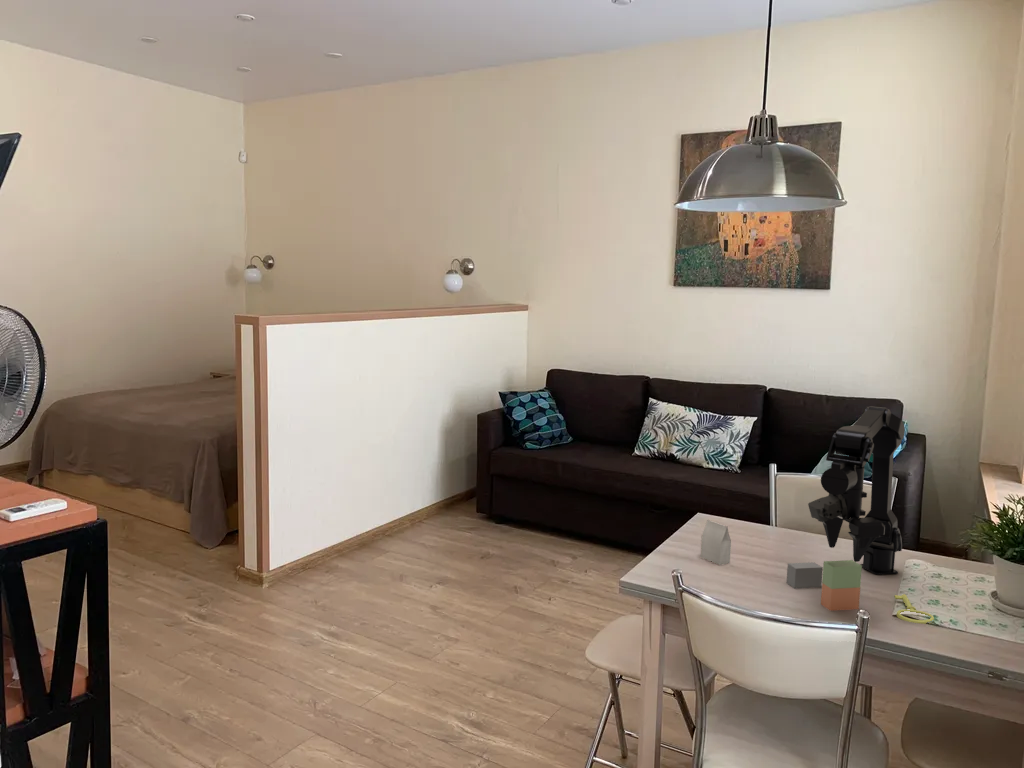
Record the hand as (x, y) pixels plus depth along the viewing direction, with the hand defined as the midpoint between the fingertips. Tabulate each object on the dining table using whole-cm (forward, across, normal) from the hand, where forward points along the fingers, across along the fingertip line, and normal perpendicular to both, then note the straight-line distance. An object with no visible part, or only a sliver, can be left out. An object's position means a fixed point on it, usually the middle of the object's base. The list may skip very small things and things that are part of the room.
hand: (843, 554), depth 171 cm
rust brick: (+12, +1, -1) cm, 12 cm away
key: (+12, +6, +13) cm, 19 cm away
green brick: (+7, +1, -1) cm, 7 cm away
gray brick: (+12, -12, -2) cm, 17 cm away
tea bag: (+12, -31, -16) cm, 37 cm away
